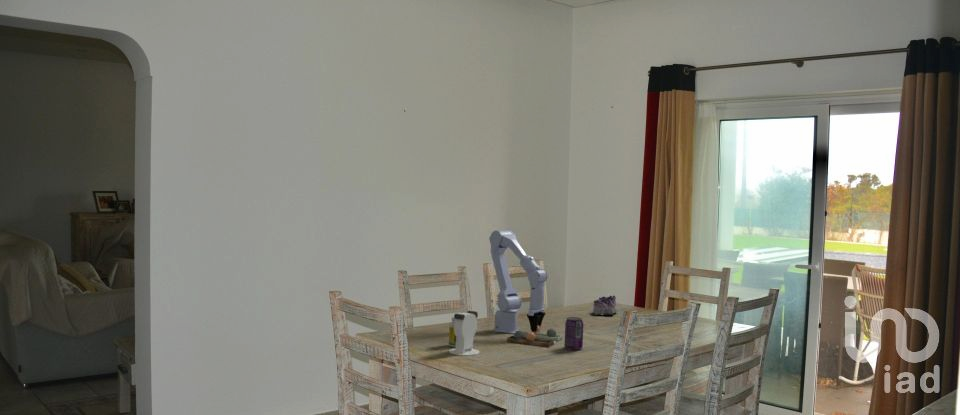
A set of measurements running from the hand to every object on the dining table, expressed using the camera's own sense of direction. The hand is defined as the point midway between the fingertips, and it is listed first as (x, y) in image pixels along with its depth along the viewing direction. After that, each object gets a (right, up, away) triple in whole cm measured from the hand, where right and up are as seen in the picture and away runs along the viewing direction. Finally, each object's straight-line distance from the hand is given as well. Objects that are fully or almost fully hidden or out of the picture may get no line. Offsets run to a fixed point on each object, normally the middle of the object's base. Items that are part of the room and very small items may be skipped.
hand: (535, 330), depth 319 cm
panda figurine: (-29, -3, -32) cm, 43 cm away
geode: (+40, -3, +67) cm, 78 cm away
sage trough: (+1, -3, -3) cm, 4 cm away
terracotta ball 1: (-3, -1, -12) cm, 12 cm away
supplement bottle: (-32, -3, -22) cm, 39 cm away
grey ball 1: (-8, -1, -10) cm, 12 cm away
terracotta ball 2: (0, 0, 0) cm, 0 cm away
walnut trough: (-3, -3, -12) cm, 13 cm away
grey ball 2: (+6, -1, -3) cm, 7 cm away
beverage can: (+14, -4, -19) cm, 24 cm away
